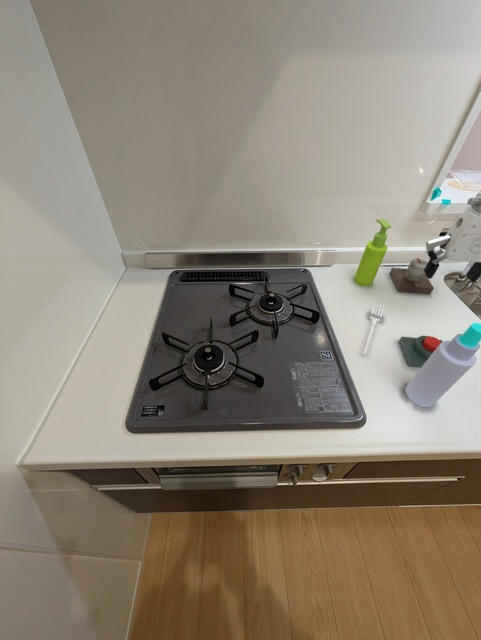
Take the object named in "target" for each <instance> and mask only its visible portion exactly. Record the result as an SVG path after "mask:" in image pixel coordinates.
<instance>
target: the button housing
mask: <svg viewBox="0 0 481 640" xmlns="http://www.w3.org/2000/svg"><path fill="white" fill-rule="evenodd" d="M429 336H430V335H420V336H418V337H411V336H401V337H400V338H399V340H398V345H399V347H400V350H401V352H402V355H403V359H404V360H405V363H406V365H407V367H411V368H419V369H420V368H421V367H422V366H423V365H424V363H425V362H426V361H427V360H428V358H429V357H430V356H431V355H432V353H433V352H431V351H428V350H426V349H425V348H424V347H423V345H422V343H423V341H424V340H425V339H426V337H429ZM439 340H440V341H441V343H442V342H444V341H443V340H442V339H439Z"/></svg>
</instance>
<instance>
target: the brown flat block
mask: <svg viewBox="0 0 481 640" xmlns="http://www.w3.org/2000/svg"><path fill="white" fill-rule="evenodd" d="M407 269H408V268H402V267H401V268H399V267H391V269H390V272H389V274H388V275H389V277H390V278H391V280H392V283H393V285H394V287H395V289H396V291H397V292H398V293H410V294H422V295H431V293H432V292H433V290H434V286H433V284H432V283H431V281H430V279H429V278H427V276H426V274H425V273H424V274H423V276H422V278H421V279H420V281H418V282H413V281H410V280H408V279H406V278H405V276H404V275H405V273H406V271H407Z"/></svg>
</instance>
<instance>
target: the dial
mask: <svg viewBox="0 0 481 640" xmlns="http://www.w3.org/2000/svg"><path fill="white" fill-rule="evenodd" d="M427 263H428V261H426V260H424V259H422V258H419V257H417V258H413V259H412V260H411V261H410V263H409V265H408V267H407V268H406V269H407V271H406V273H405V275H404V276H405V278H406V279H408V280H410V281H413V282H418V281H420V279H421V278H422V276H423V274H424V269H425V267H426V265H427Z"/></svg>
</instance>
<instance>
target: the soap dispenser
mask: <svg viewBox="0 0 481 640" xmlns="http://www.w3.org/2000/svg"><path fill="white" fill-rule="evenodd" d="M375 222H376V223H378V224H379V225H380V226H381V227H380V229H379V231H378V232H375V234H374V237H373V240H370V241H368V242H366V246H365V248H364V250H363V253H362V256H361V259H360V262H359V264H358V267H357V270H356V273H355V275H354V278H353V281H354V283H355V284H357V285H358V286H361V287H371V286H372V285H373V283H374V281H375V278H376V277H377V275H378V271H379V269H380V267H381V265H382V262H383V260H384V257H385V255H386V253H387V251H388V246H387V244H386V241H387V239H388V235H387V231H388V229H389V230H390V229H391V228H392V226H391V224H390V223H389V222H388V221H387V220H385V219H382V218H380V219H379V218H378V219H375Z"/></svg>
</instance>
